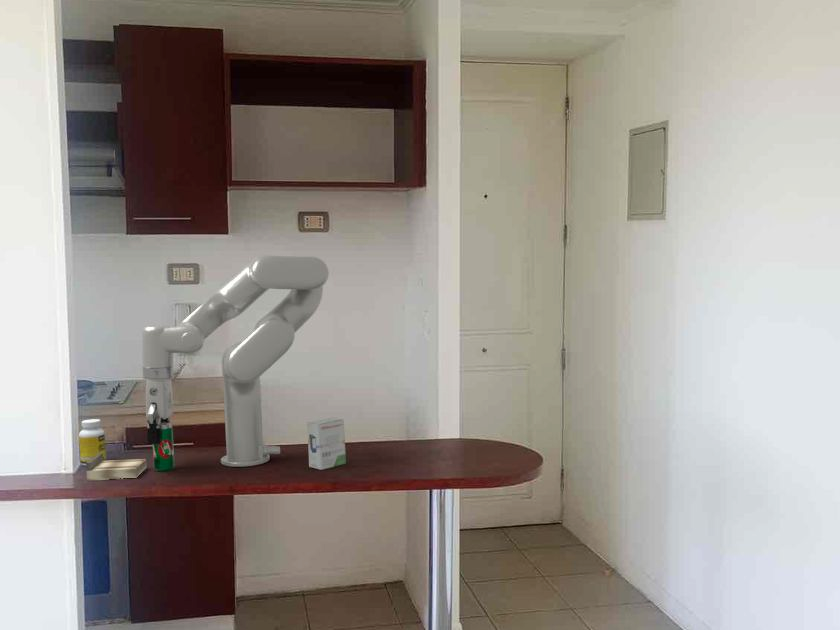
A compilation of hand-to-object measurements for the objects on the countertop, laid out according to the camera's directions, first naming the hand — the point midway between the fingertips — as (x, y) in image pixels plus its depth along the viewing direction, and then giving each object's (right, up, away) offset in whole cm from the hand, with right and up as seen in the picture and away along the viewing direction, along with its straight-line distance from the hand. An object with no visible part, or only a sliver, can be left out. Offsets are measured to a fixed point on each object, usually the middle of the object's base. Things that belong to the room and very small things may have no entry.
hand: (159, 439), depth 225 cm
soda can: (+1, -8, +1) cm, 8 cm away
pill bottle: (-20, -8, +10) cm, 24 cm away
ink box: (+43, -7, 0) cm, 44 cm away
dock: (-10, -8, -3) cm, 13 cm away
